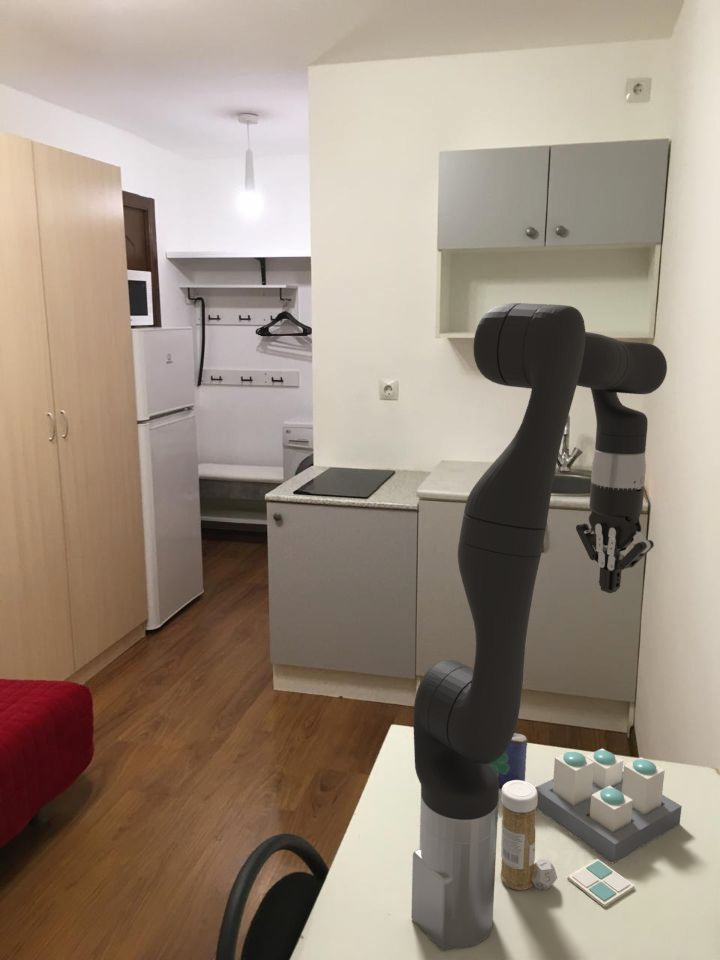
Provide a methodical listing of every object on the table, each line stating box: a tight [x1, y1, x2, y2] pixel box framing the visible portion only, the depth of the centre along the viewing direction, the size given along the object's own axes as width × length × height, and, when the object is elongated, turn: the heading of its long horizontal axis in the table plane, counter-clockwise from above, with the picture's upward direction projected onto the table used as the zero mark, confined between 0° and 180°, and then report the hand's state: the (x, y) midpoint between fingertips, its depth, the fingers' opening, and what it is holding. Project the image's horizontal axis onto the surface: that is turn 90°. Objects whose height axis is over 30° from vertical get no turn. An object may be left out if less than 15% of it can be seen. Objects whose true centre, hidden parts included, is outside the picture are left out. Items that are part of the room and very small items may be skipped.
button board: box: [534, 770, 682, 864], centre depth 114 cm, size 15×15×3 cm
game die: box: [531, 858, 558, 891], centre depth 100 cm, size 4×4×3 cm
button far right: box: [622, 756, 665, 815], centre depth 112 cm, size 4×4×6 cm
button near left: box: [552, 749, 594, 807], centre depth 114 cm, size 4×4×6 cm
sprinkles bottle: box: [500, 780, 538, 891], centre depth 100 cm, size 5×5×13 cm
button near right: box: [590, 786, 633, 833], centre depth 109 cm, size 4×4×6 cm
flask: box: [489, 732, 528, 790], centre depth 121 cm, size 9×3×11 cm, turn 61°
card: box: [567, 858, 635, 908], centre depth 100 cm, size 6×6×1 cm
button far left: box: [584, 748, 624, 789], centre depth 118 cm, size 4×4×6 cm
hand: (609, 591), depth 116 cm, fingers closed
